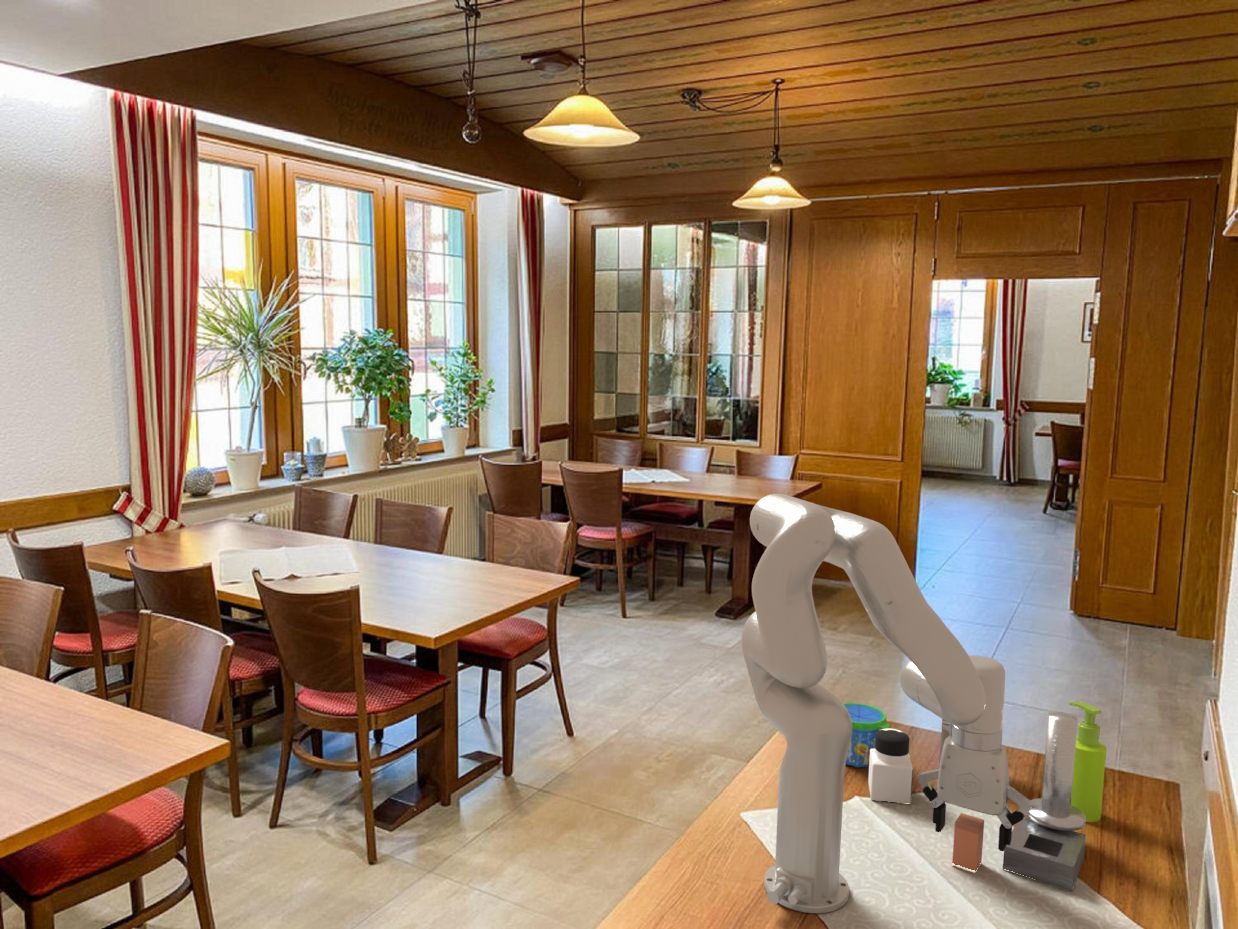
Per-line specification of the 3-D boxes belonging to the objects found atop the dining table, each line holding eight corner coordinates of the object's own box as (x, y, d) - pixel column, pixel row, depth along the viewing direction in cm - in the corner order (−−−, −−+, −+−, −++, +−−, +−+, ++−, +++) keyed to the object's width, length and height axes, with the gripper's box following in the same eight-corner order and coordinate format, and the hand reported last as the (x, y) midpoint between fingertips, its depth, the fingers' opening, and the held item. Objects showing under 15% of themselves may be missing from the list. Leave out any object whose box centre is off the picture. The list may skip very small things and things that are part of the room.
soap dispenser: (1075, 801, 167) (1084, 697, 164) (1108, 819, 160) (1117, 711, 158) (1051, 806, 164) (1059, 701, 162) (1083, 824, 158) (1092, 715, 156)
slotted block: (1071, 891, 138) (1083, 754, 135) (1002, 869, 144) (1012, 737, 141) (1090, 840, 153) (1100, 715, 150) (1026, 822, 159) (1035, 702, 156)
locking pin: (975, 874, 142) (978, 829, 141) (952, 866, 144) (955, 822, 143) (981, 863, 145) (984, 819, 144) (958, 856, 147) (961, 813, 146)
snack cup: (905, 768, 179) (908, 719, 178) (872, 782, 173) (875, 731, 171) (842, 741, 191) (844, 695, 190) (809, 753, 185) (811, 706, 184)
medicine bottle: (911, 805, 164) (915, 742, 162) (870, 801, 165) (874, 738, 164) (906, 787, 171) (910, 726, 169) (868, 783, 172) (871, 723, 171)
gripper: (913, 730, 144) (909, 831, 146) (1030, 758, 134) (1023, 866, 136) (927, 715, 150) (923, 812, 152) (1040, 741, 140) (1034, 844, 142)
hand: (970, 837), depth 144 cm, fingers open, 9 cm apart
